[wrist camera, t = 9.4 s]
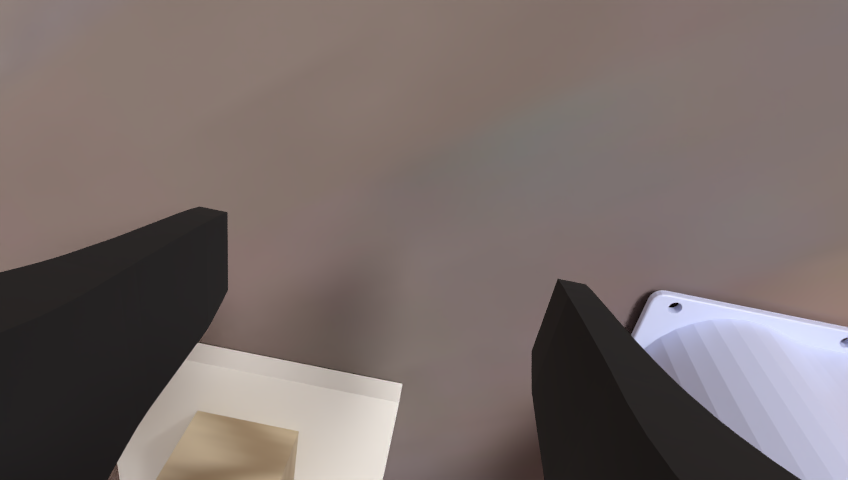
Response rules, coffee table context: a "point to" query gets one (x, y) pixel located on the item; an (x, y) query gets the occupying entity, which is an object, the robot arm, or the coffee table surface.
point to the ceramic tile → (273, 413)
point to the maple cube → (232, 451)
